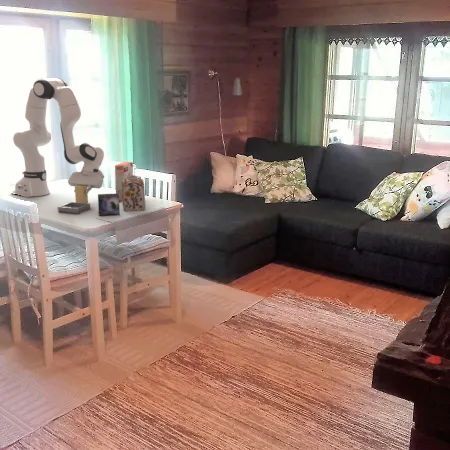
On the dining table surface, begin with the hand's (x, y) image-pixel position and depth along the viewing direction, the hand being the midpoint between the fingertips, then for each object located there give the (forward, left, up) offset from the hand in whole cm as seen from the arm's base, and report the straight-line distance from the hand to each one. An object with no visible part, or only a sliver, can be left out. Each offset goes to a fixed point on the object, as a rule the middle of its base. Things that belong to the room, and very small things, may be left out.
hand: (80, 192), depth 302 cm
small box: (+26, -14, -7) cm, 30 cm away
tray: (+5, -14, -6) cm, 17 cm away
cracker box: (+17, +20, -7) cm, 27 cm away
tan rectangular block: (0, +1, -6) cm, 6 cm away
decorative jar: (+32, +2, -7) cm, 33 cm away
